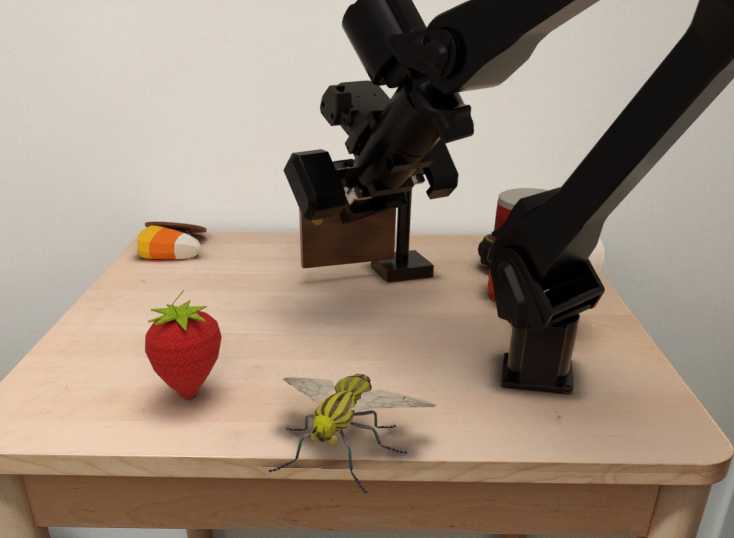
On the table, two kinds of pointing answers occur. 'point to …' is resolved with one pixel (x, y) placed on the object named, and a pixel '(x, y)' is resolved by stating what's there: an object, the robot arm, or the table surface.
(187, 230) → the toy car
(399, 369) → the table surface
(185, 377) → the strawberry
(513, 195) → the canned food
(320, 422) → the insect
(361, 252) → the door
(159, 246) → the candy corn
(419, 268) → the door post
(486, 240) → the tape measure
